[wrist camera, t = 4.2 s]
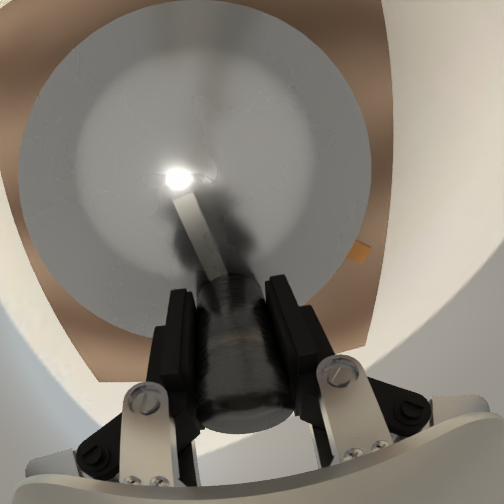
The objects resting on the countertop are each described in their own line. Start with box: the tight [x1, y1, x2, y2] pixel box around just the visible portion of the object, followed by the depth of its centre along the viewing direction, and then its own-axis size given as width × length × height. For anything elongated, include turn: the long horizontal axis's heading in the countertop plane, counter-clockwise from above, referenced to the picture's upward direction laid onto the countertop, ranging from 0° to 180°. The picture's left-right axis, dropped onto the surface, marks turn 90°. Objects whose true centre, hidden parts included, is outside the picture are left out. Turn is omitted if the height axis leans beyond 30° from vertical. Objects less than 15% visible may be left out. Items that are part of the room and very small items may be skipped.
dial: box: [18, 0, 371, 434], centre depth 7 cm, size 13×13×6 cm
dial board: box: [0, 0, 393, 382], centre depth 11 cm, size 22×17×2 cm
